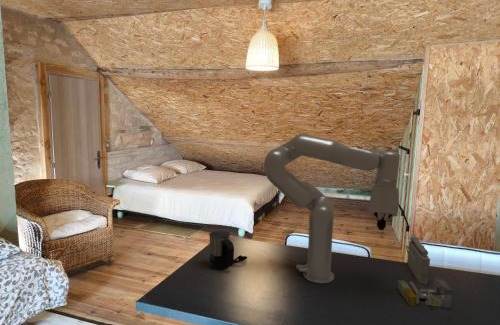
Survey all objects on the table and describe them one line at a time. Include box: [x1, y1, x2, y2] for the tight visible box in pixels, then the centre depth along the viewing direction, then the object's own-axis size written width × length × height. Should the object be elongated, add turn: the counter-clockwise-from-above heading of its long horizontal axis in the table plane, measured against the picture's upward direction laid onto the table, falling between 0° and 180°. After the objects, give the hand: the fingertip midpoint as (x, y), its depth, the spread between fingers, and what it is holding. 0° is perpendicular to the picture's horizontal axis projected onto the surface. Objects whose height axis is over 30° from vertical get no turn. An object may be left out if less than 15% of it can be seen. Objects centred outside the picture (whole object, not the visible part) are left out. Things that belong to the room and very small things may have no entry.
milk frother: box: [208, 230, 248, 271], centre depth 148 cm, size 14×16×15 cm
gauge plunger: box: [408, 281, 440, 307], centre depth 121 cm, size 11×10×4 cm
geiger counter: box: [405, 235, 431, 285], centre depth 145 cm, size 14×6×25 cm
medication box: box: [397, 279, 417, 307], centre depth 124 cm, size 12×3×4 cm, turn 175°
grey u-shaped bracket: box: [419, 276, 453, 309], centre depth 122 cm, size 8×9×7 cm
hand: (380, 229), depth 130 cm, fingers closed
